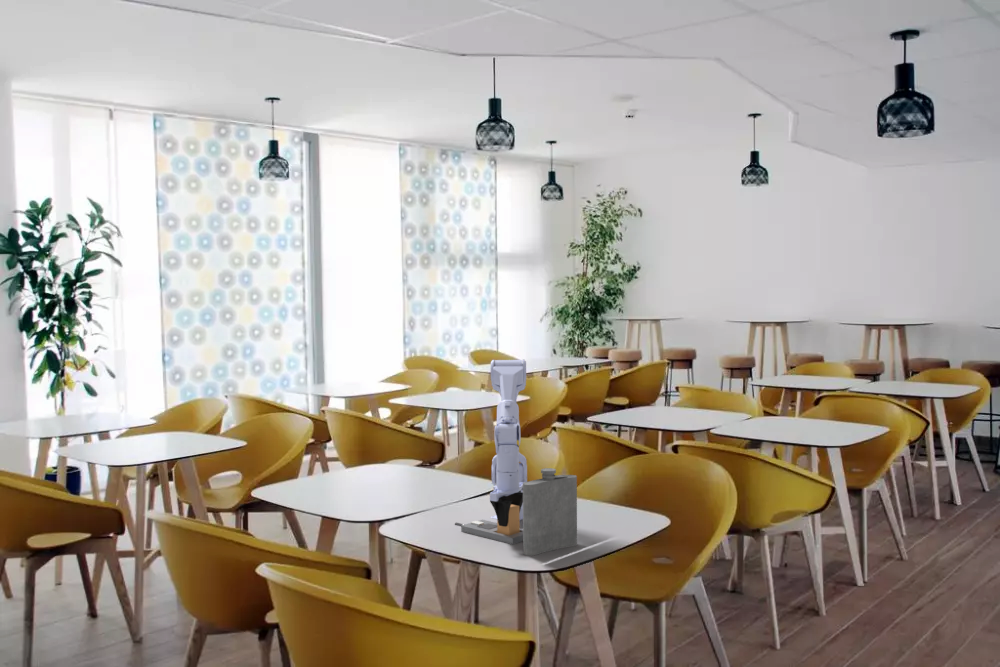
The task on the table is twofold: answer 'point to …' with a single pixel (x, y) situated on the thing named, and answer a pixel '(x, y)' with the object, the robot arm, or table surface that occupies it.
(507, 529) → the plug
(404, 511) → the table surface
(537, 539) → the hip flask
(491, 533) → the power strip
